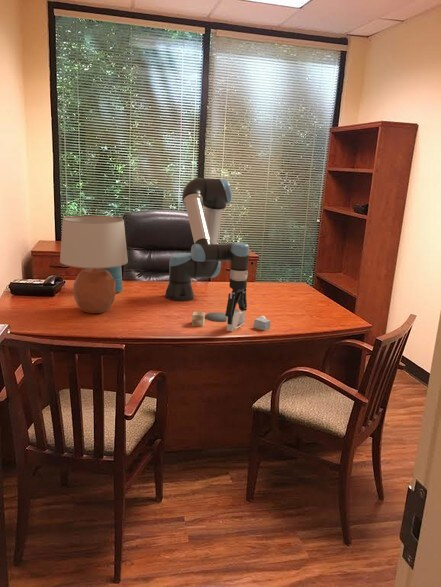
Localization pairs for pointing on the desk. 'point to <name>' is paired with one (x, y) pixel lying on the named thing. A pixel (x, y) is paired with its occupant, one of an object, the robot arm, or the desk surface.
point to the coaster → (216, 316)
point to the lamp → (93, 258)
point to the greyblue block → (262, 324)
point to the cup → (237, 318)
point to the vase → (116, 277)
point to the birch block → (198, 318)
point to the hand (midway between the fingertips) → (235, 327)
